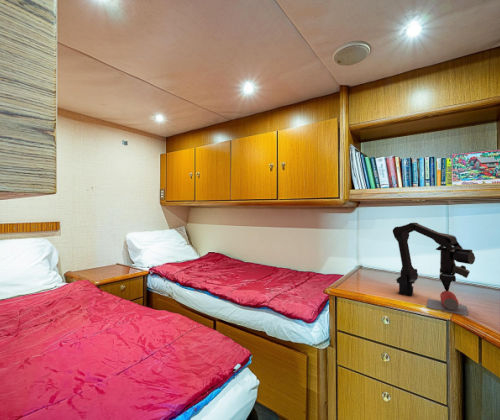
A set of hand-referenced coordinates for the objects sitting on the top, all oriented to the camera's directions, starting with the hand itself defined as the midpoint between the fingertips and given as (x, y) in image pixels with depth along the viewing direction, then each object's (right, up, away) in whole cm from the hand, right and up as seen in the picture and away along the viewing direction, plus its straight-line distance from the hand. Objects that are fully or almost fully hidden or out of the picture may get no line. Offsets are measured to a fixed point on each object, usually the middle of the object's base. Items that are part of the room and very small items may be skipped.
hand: (446, 290), depth 128 cm
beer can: (+4, -5, +5) cm, 8 cm away
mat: (0, -9, +1) cm, 9 cm away
